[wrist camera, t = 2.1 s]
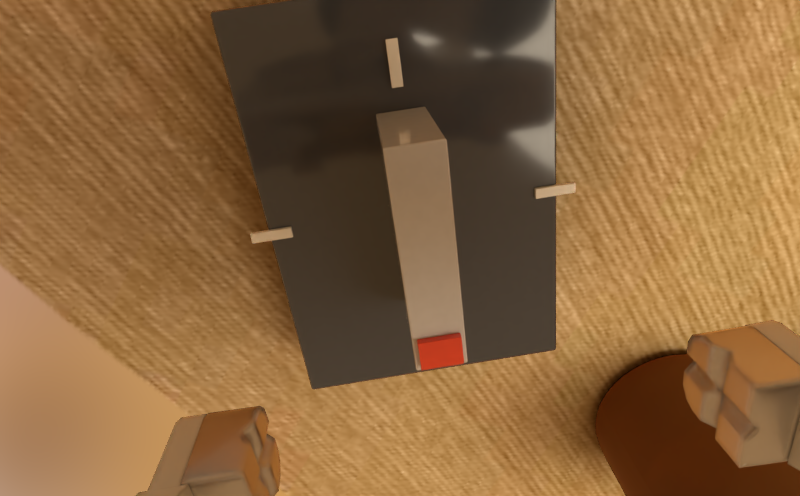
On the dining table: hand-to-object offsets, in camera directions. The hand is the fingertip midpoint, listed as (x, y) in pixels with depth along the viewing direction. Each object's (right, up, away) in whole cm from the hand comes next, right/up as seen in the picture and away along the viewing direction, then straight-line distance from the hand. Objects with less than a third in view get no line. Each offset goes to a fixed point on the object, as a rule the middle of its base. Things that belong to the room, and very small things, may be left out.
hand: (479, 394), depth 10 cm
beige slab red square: (-1, +4, +8) cm, 9 cm away
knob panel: (-1, +5, +11) cm, 12 cm away
